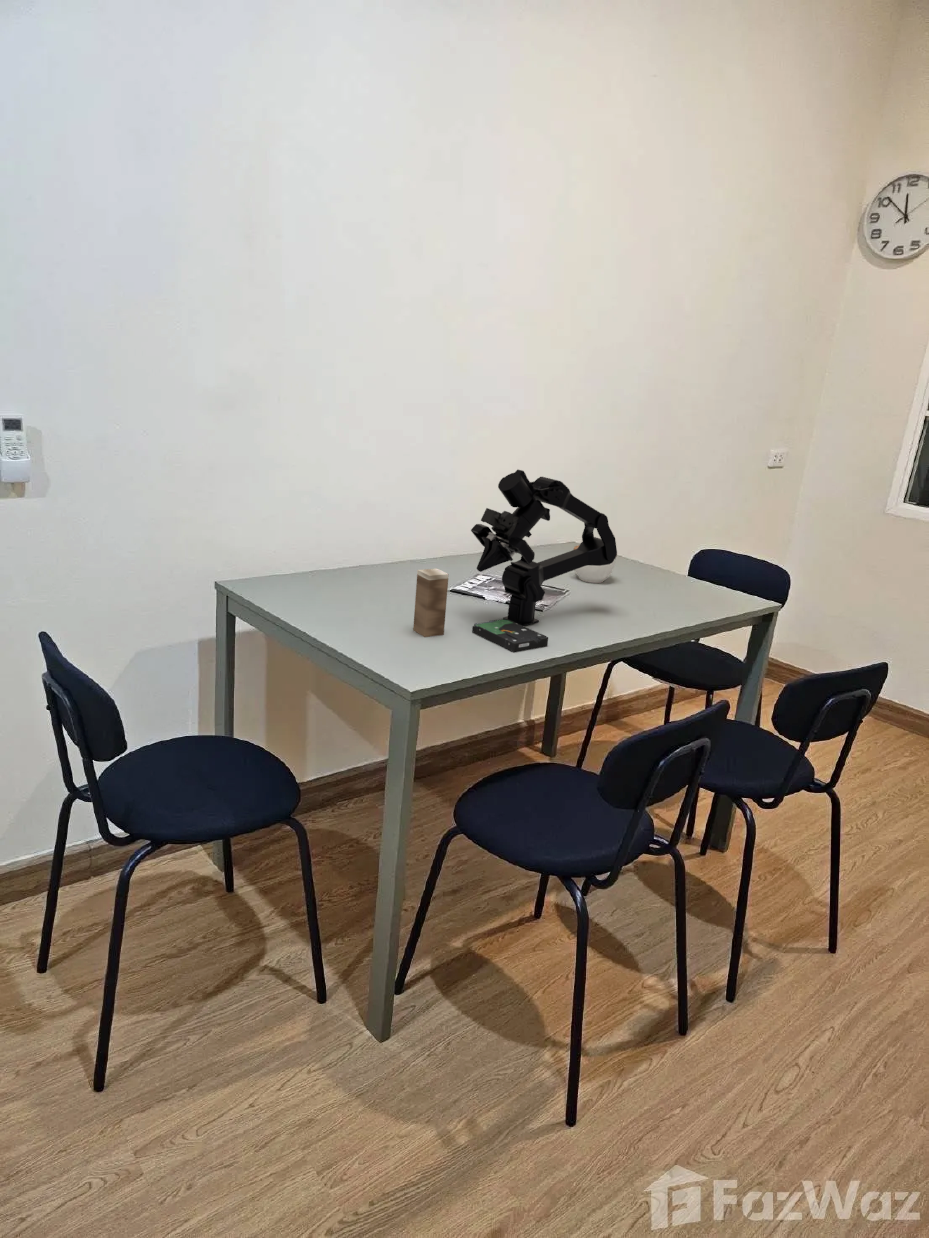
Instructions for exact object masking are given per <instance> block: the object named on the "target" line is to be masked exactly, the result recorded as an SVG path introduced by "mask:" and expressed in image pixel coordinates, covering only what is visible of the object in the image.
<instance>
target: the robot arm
mask: <svg viewBox="0 0 929 1238" xmlns="http://www.w3.org/2000/svg"><path fill="white" fill-rule="evenodd" d="M497 486H498V490H499V491H500V492H501V494H502V495H503V497H504V498H505V500H506V501H507V502H508V504H509V505H510V507H512V508H515V509H514V511H513V512H510V511H506V510H503V511H502V512H499V511H497V510H494V509H491V508H488V507H486V508H485V511H484V512H483V514H482V517H481V519H480V521H481V522H483V523H487V524H488V525H490V526H492V527H489V526H487V525H484V524H481V523H476V524H474V525H473V527H472V528H470V532H471V533H472V534H473V535H474V537H475V538H476V539H477V541H478V542H479V543H480V545H481V546H483V547H484V548H483V552H482V554H481V557H480V559H479V561H478V564H477V566H476V570H477V572H484V571H486V570H488V569H491V568H494V567H495V566H496V567H497V566H498V565H501V564H504V563H507V562H509V561H510V564H509V565H507V566H506V567H505V568H504V571H503V572H502V575H501V582H502V585H503V586H504V592H505V593H506V594H509V595H511V596H510V597H509V603H508V610H507V616H503V617H502V619H509V620H510V621H513V622H515V623H517V624H520V625H522V626H524V627H526V626H530V625H533V624H535V623H536V624H537V623H539V621H540V619H538V618H535V614H536V606H537V603H538V602H540V601H542V600H543V599H544V596H545V593H546V591H545V589H544V588H543V587H542V585H543V583H544V582H545V581H548V580H551V579H554V578H556V577H559V576H562V575H564V574H567V573H570V572H573V571H575V570H576V569H578V568H581V567H584V566H587V565H591V566H602V565H609V564H611V563H612V562H613V561H614V559H615V558H616V559H617V557H616V555H617V556H618V550H617V541H616V537H615V535H614V532H613V531H612V529H611V528H610V525H609V519H608V516H607V515H606V514H605V513H602V512H600V511H598V510H597V509H595V508H593V507H592V506H590V505H589V504H587V503H586V502H584V501H582V500H581V499H580V498H578V497H576V496H574V495H573V494H572V493H571V490H570V488H569V487H568V486H567V485H566V484H565V483H564V482H563V481H561V480H558V479H553V478H551V477H546V476H545V477H544V476H539V477H538V478H536V479H535V480H534V481H530V480H529V478H528V477H527V474H526V472H525V471H524V470H522V469H517V470H515V472H511V473H509V474H507V475H505V476H504V477H502V478H501V479H500V481H499V482H498V485H497ZM543 503H544V504H547V505H549V506H554V507H557V508H559V509H561V510H562V511H564V512H565V513H567V514H569V515H570V516H572V517H574V518H575V519H578V520H579V521H581V522H582V523H584V529H583V530H582V531H583V532H582V534H581V540H582V541H581V542H580V543H579V547H578V548H577V549H575V550H574V549H572V550H569V551H567V552H564V553H562V554H558V555H555V556H553V557H551V558H547V559H545V560H541V561H539V562H535V561H534V560H535V551H534V550H533V549H532V547H531V546H530V545H529V543H528V542H527V541H526V540H525V539H524V538H525V537H526V538H530V537H531V536H532V532H531V530H532V529H534V527H535V526H536V524H538V522H539V521H540V520H545V521H547V522H550V520H551V514H550V512H551V509H550V508H547V507H545V506H544V504H543ZM595 529H596V531H597V534H598V535H599V537H600V538H599V537H596V536H594V530H595ZM515 554H519V555H520V556H521V557H520V559H519V560H517V561H514V558H513V556H514V555H515Z"/></svg>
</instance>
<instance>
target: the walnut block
mask: <svg viewBox="0 0 929 1238" xmlns="http://www.w3.org/2000/svg"><path fill="white" fill-rule="evenodd" d="M416 574H417V575H416V584H415V585H416V586H415V599H414V601H415V602H414V611H413V612H414V615H413V632H415V633H417V634H419V635H420V636H421V637H423V638H428V637H435V636H436V637H437V636H443V635H444V634H445V623H446V611H447V600H448V599H447V597H448V588H449V576H450V575H449V573H447V572H445V571H443V570H441V569H438V568H427V569H426V568H425V569H417V571H416Z"/></svg>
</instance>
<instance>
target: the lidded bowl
mask: <svg viewBox="0 0 929 1238" xmlns="http://www.w3.org/2000/svg"><path fill="white" fill-rule="evenodd" d="M579 545H580V544H579ZM579 545H575V546H574V547H573V550H575V549H577V548H578V547H579ZM617 556H618V554H617V555H616V558H615V559H614V561H613V562H612V563H611V564H609V565H602V566H591V565H587V566H584V567H581V568H578V569H576V570H574V572H575V573H576V574H575V575H577V577H578V578H579V580H580V581H583V582H585V583H591V584H602V583H604V582H603V581H605V580H607V579H608V578H609V577H610V576H611V575H612V574H613V571H614V568H615V566H616V560H617Z"/></svg>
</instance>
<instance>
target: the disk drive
mask: <svg viewBox="0 0 929 1238" xmlns="http://www.w3.org/2000/svg"><path fill="white" fill-rule="evenodd" d="M471 628H472V629H471V632H472V634H474V635H476V636H478V637H480V638H483V639H485V640H487V641H489V642H490V643H493V644H494V645H496V646H498V647H501V648H503V649H505V650H507V651H509V652H511V653H514V654H515V653H518V652H525V651H529V650H530V651H531V650H535V649H541V648H545V647H548V644H549V637H548V636H547V635H545V634H542V633H540V632H537V631H535V630H534V629H532V628H528V627H526V626H522V625H520V624H517V623H515V622H513V621H510V620H509V619H503V618H501V619H495V620H494V619H493V620H489V621H484V622H481V623H478V622H477V623H476V622H474V625H472V627H471Z"/></svg>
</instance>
